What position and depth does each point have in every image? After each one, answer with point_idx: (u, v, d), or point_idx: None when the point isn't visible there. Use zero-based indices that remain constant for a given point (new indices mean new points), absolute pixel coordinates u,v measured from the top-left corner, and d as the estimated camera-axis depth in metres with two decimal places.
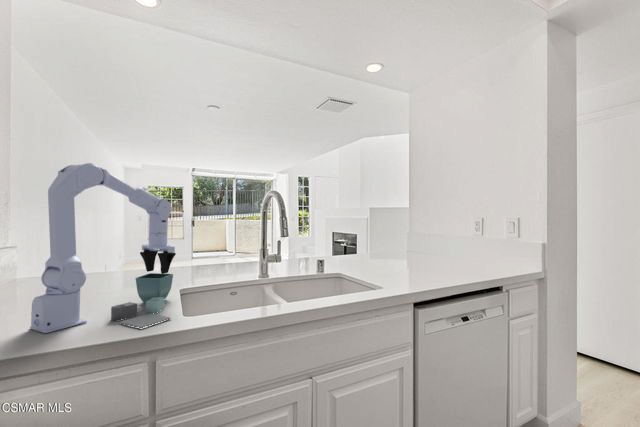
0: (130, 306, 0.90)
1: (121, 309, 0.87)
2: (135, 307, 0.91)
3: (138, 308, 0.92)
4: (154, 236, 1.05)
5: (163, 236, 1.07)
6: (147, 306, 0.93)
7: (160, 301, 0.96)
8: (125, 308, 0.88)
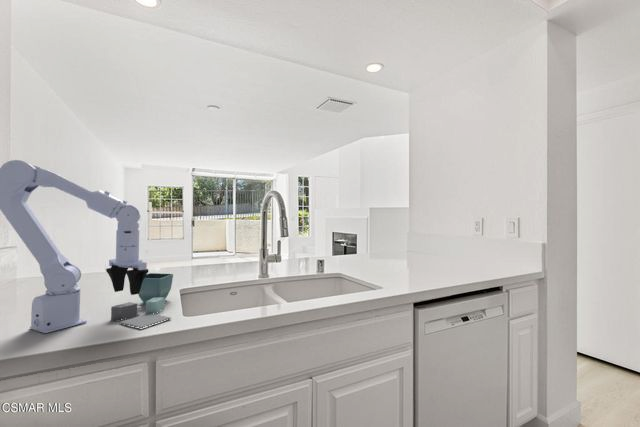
0: (130, 306, 0.90)
1: (121, 309, 0.87)
2: (135, 307, 0.91)
3: (138, 308, 0.92)
4: (122, 250, 0.88)
5: (133, 250, 0.89)
6: (147, 306, 0.93)
7: (160, 301, 0.96)
8: (125, 308, 0.88)
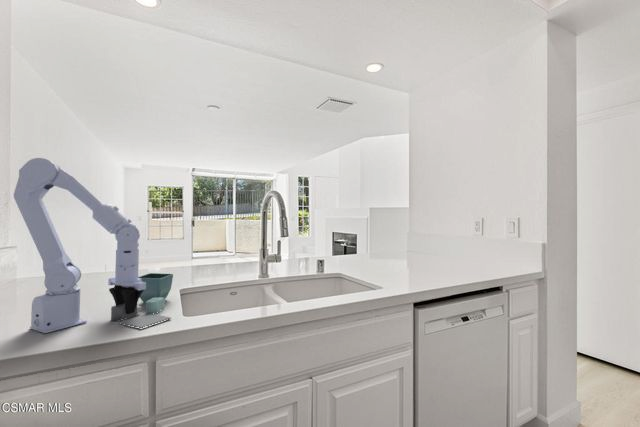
0: None
1: (121, 309, 0.87)
2: None
3: (138, 308, 0.92)
4: (121, 270, 0.88)
5: (132, 269, 0.89)
6: (147, 306, 0.93)
7: (160, 301, 0.96)
8: None
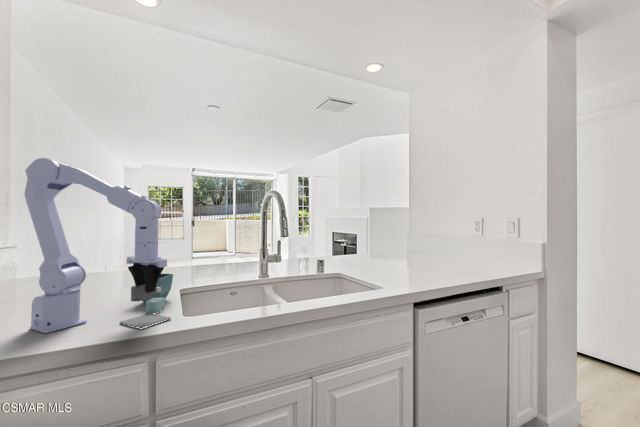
0: None
1: (141, 289, 0.84)
2: None
3: (158, 289, 0.89)
4: (141, 247, 0.84)
5: (153, 246, 0.86)
6: (147, 306, 0.93)
7: (160, 301, 0.96)
8: None
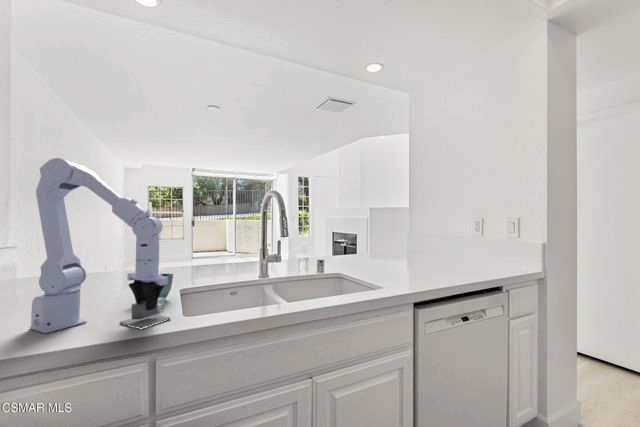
0: None
1: (142, 307, 0.83)
2: (156, 305, 0.87)
3: (158, 306, 0.89)
4: (142, 264, 0.84)
5: (153, 264, 0.85)
6: None
7: (160, 301, 0.96)
8: None
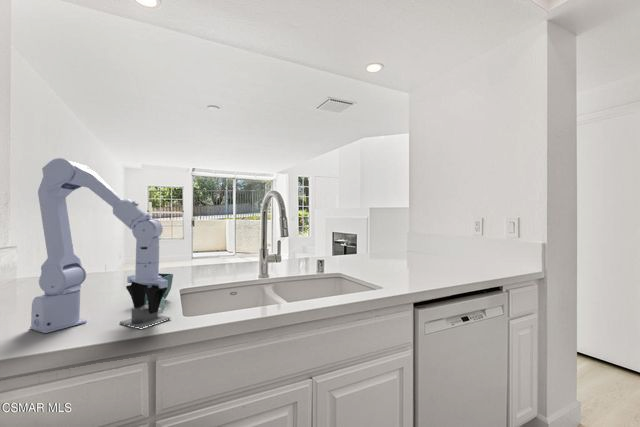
0: None
1: (142, 311, 0.84)
2: None
3: (158, 310, 0.89)
4: (142, 267, 0.84)
5: (153, 266, 0.85)
6: None
7: None
8: (146, 310, 0.84)
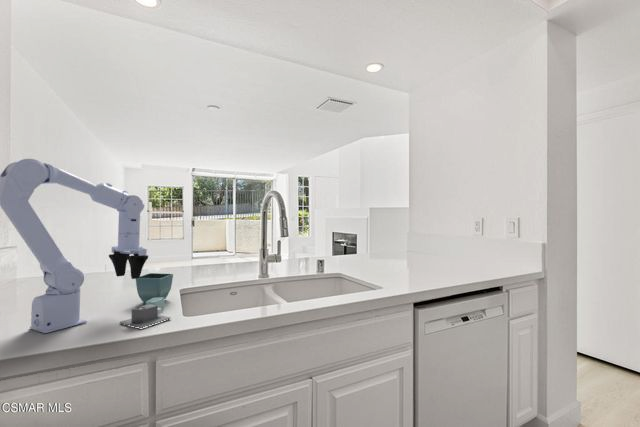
0: (151, 308, 0.86)
1: (142, 311, 0.84)
2: (156, 309, 0.87)
3: (158, 310, 0.89)
4: (123, 237, 0.94)
5: (134, 237, 0.95)
6: None
7: (160, 301, 0.96)
8: (146, 310, 0.84)
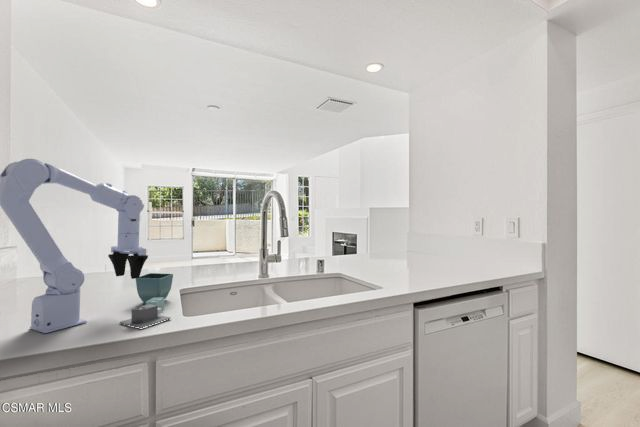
0: (151, 308, 0.86)
1: (142, 311, 0.84)
2: (156, 309, 0.87)
3: (158, 310, 0.89)
4: (123, 237, 0.94)
5: (134, 237, 0.95)
6: None
7: (160, 301, 0.96)
8: (146, 310, 0.84)
